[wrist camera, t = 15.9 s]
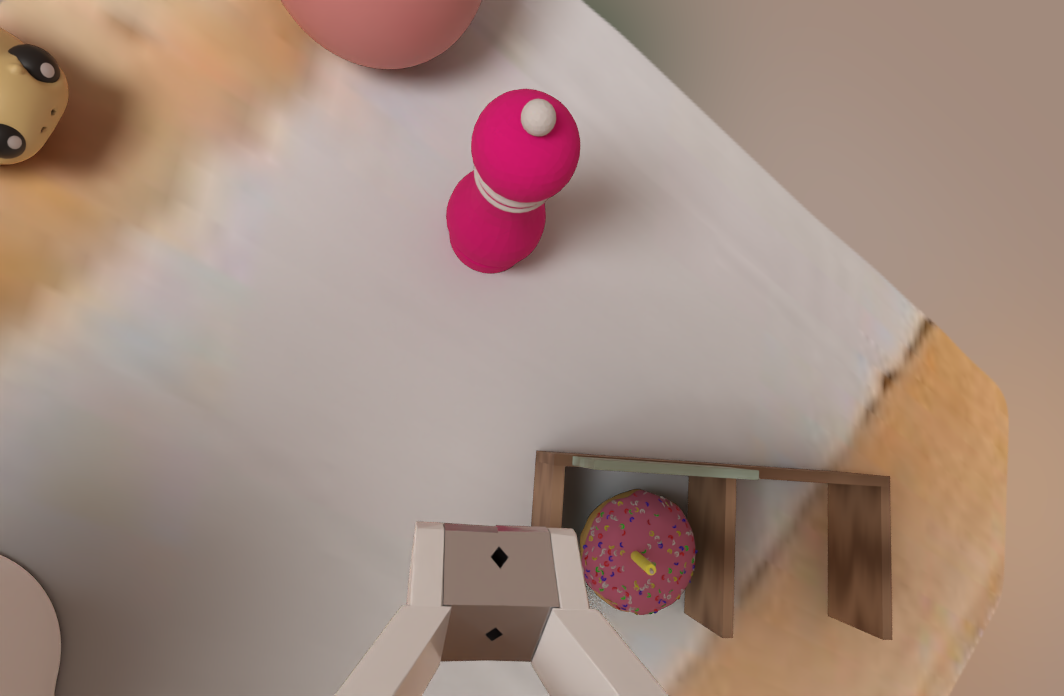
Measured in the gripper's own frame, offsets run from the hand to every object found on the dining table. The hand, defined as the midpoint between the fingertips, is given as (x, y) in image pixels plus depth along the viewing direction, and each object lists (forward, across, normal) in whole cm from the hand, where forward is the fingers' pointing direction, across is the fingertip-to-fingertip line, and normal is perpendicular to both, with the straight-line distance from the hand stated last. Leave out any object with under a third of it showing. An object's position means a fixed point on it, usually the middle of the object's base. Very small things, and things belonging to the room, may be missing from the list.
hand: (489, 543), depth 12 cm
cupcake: (+22, -15, +29) cm, 39 cm away
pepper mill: (+38, -3, +12) cm, 40 cm away
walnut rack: (+22, -22, +28) cm, 42 cm away
